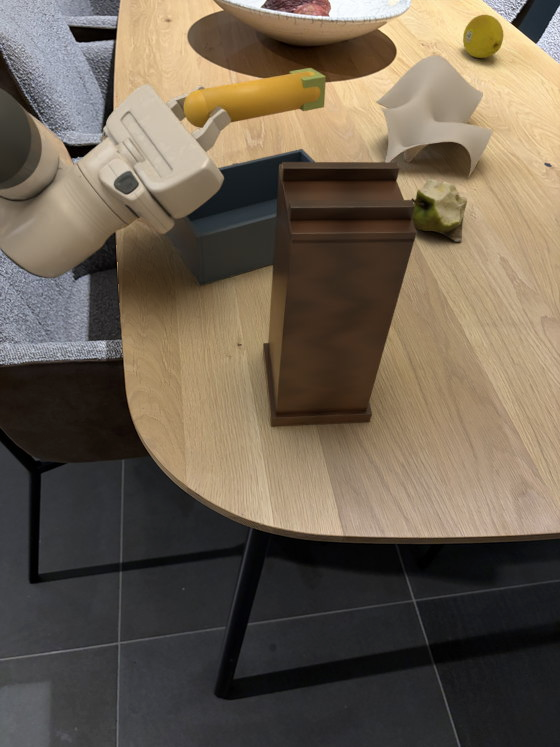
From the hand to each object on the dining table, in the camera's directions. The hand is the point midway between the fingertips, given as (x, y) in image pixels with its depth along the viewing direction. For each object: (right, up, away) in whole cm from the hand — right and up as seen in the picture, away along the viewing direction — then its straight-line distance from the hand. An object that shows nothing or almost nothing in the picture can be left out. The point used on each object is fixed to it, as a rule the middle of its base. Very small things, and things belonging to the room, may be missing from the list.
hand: (216, 102), depth 69 cm
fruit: (+30, -9, +22) cm, 38 cm away
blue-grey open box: (+3, -12, +17) cm, 21 cm away
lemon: (+51, +38, +63) cm, 90 cm away
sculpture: (+33, +11, +39) cm, 52 cm away
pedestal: (+11, -33, 0) cm, 34 cm away
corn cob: (+4, 0, +4) cm, 6 cm away
